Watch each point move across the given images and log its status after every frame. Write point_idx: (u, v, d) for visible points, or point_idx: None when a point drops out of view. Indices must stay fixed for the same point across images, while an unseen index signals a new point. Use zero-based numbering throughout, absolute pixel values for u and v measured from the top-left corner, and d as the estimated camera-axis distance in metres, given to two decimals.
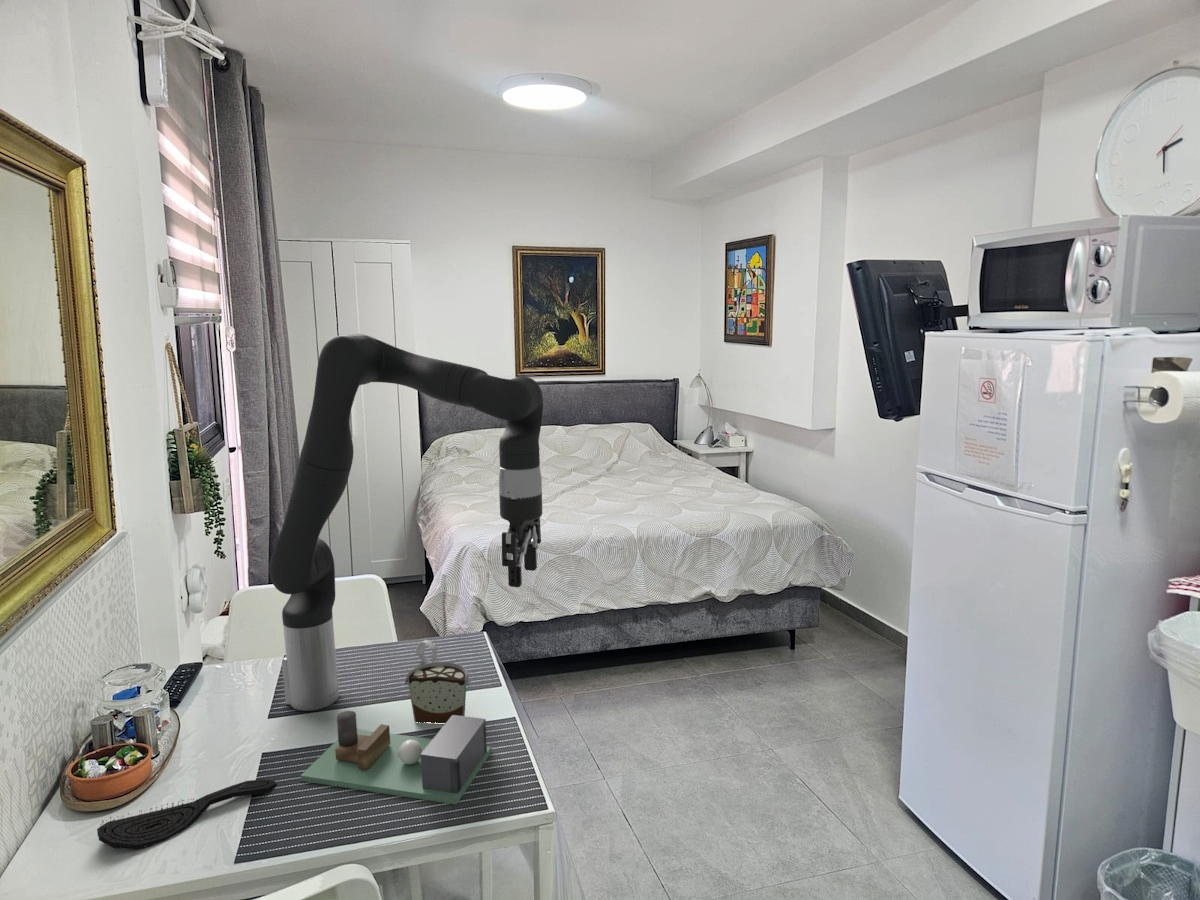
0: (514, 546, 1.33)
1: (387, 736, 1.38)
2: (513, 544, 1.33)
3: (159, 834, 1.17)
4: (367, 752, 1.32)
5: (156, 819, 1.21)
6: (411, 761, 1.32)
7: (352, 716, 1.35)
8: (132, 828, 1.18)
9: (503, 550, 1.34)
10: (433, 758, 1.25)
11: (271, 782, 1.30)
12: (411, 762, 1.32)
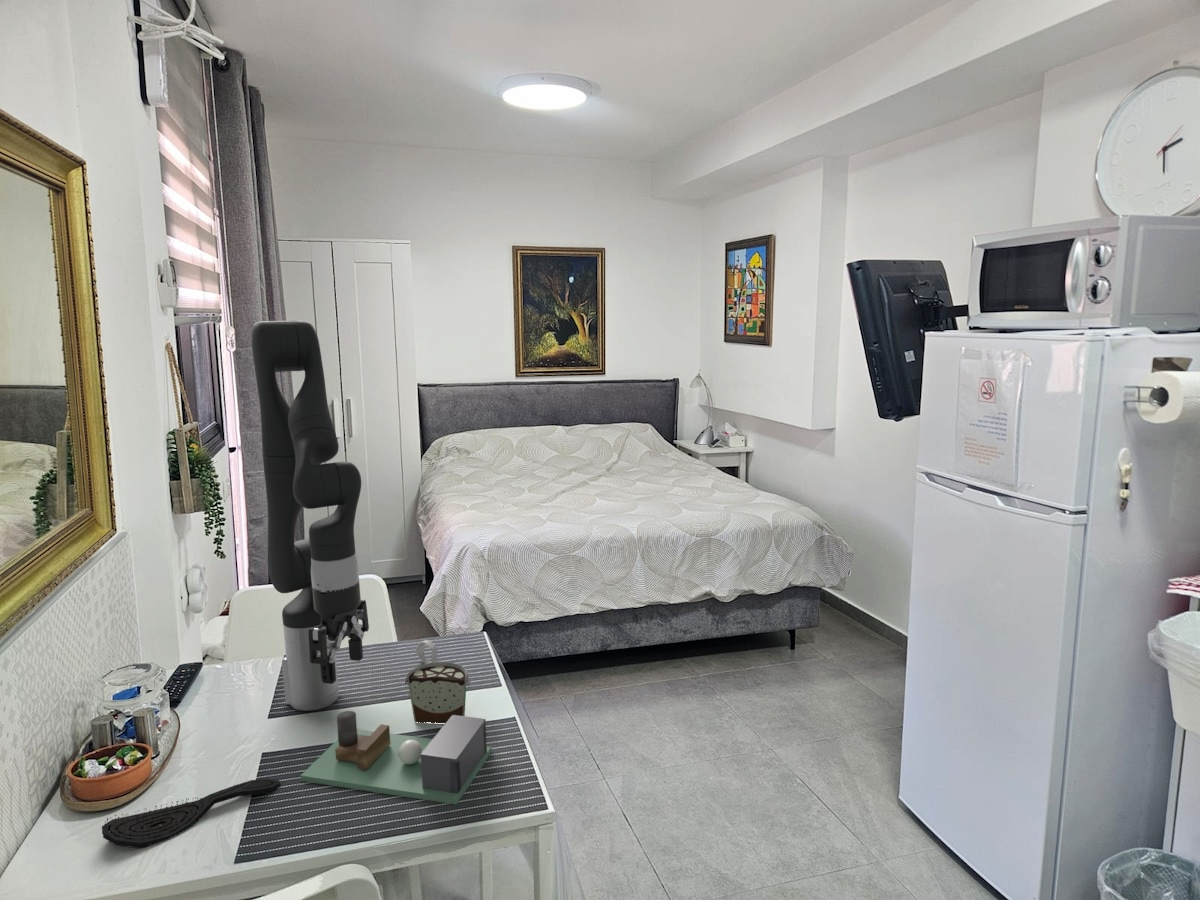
0: (321, 643, 1.25)
1: (387, 736, 1.38)
2: (320, 641, 1.25)
3: (163, 832, 1.18)
4: (367, 752, 1.32)
5: (160, 817, 1.21)
6: (411, 761, 1.32)
7: (352, 716, 1.35)
8: (136, 826, 1.18)
9: (310, 647, 1.26)
10: (433, 758, 1.25)
11: (276, 782, 1.30)
12: (411, 762, 1.32)
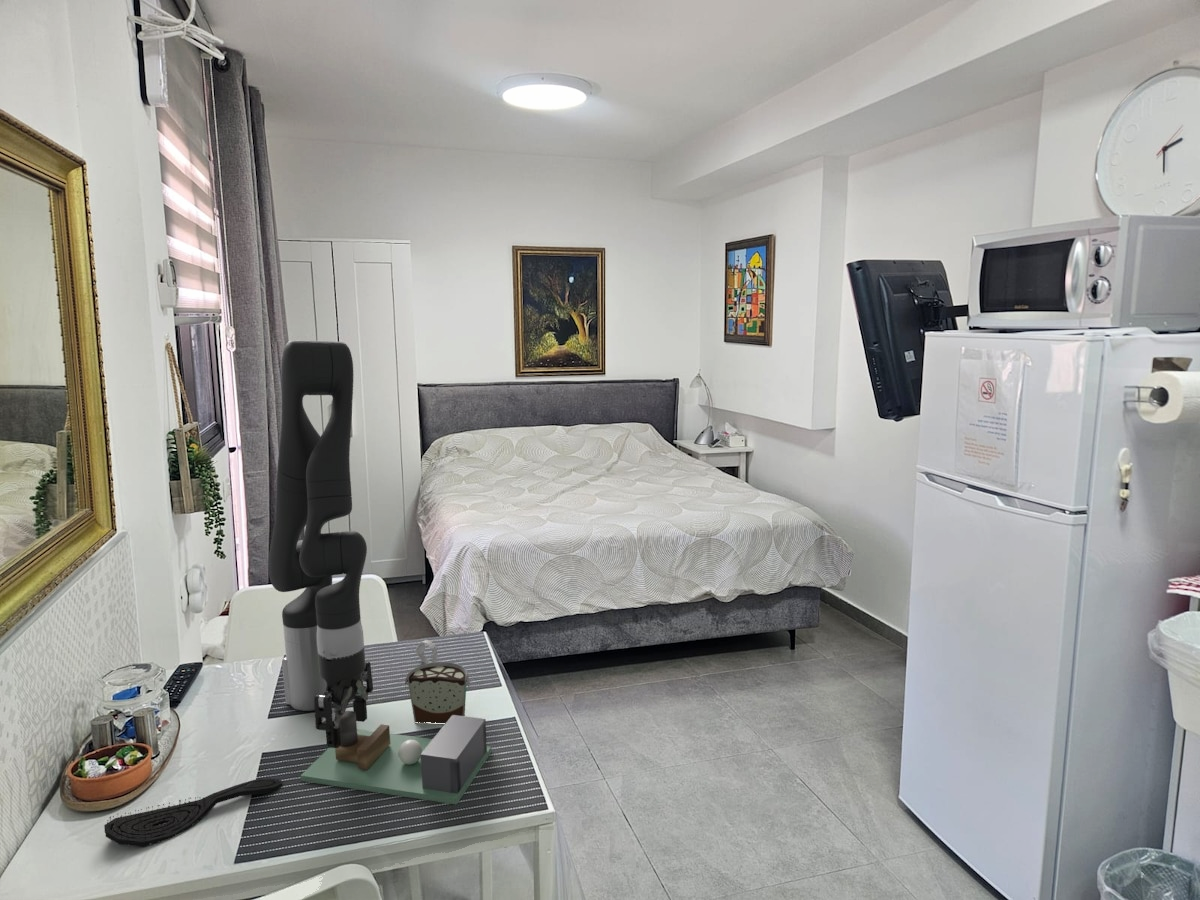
0: (327, 710, 1.28)
1: (387, 736, 1.38)
2: (326, 708, 1.28)
3: (165, 832, 1.18)
4: (367, 752, 1.32)
5: (163, 816, 1.21)
6: (411, 761, 1.32)
7: (352, 716, 1.35)
8: (139, 825, 1.19)
9: (316, 714, 1.28)
10: (433, 758, 1.25)
11: (278, 782, 1.30)
12: (411, 762, 1.32)
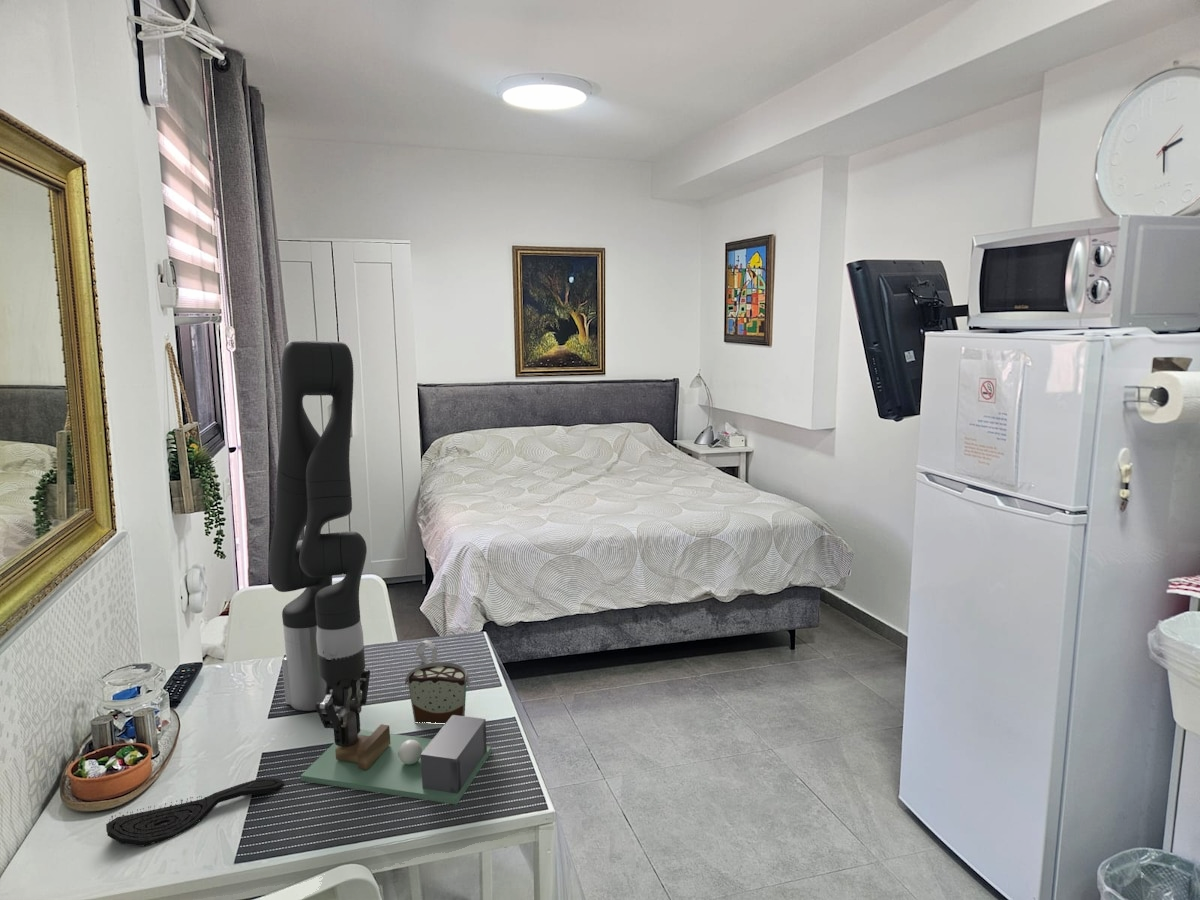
0: (331, 716, 1.29)
1: (387, 736, 1.38)
2: (329, 715, 1.29)
3: (167, 831, 1.18)
4: (368, 752, 1.32)
5: (165, 816, 1.22)
6: (411, 761, 1.32)
7: (352, 716, 1.35)
8: (141, 824, 1.19)
9: (321, 718, 1.30)
10: (433, 758, 1.25)
11: (280, 782, 1.30)
12: (411, 762, 1.32)
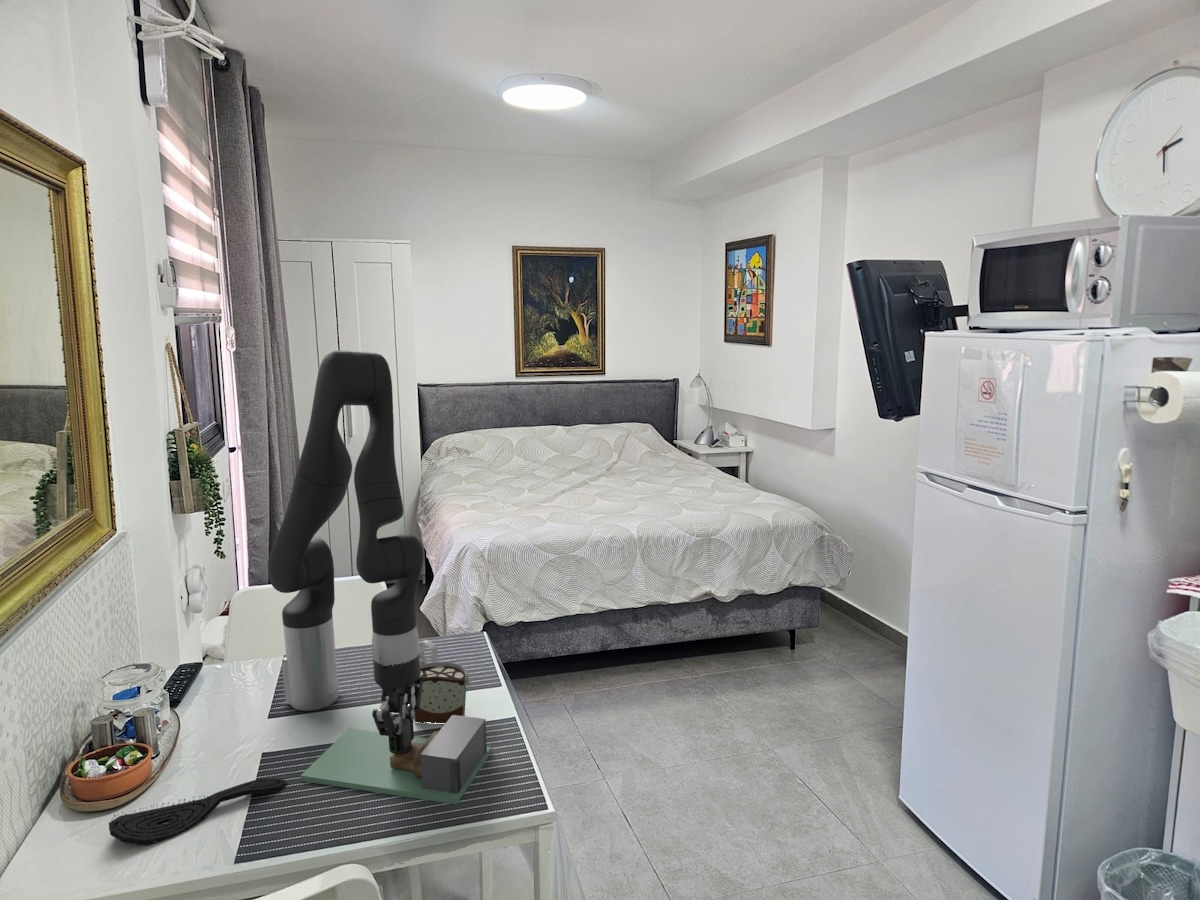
0: (387, 723, 1.26)
1: None
2: (386, 722, 1.26)
3: (169, 830, 1.18)
4: None
5: (167, 815, 1.22)
6: None
7: (407, 723, 1.33)
8: (143, 823, 1.19)
9: (377, 725, 1.27)
10: (433, 758, 1.25)
11: (282, 781, 1.30)
12: None
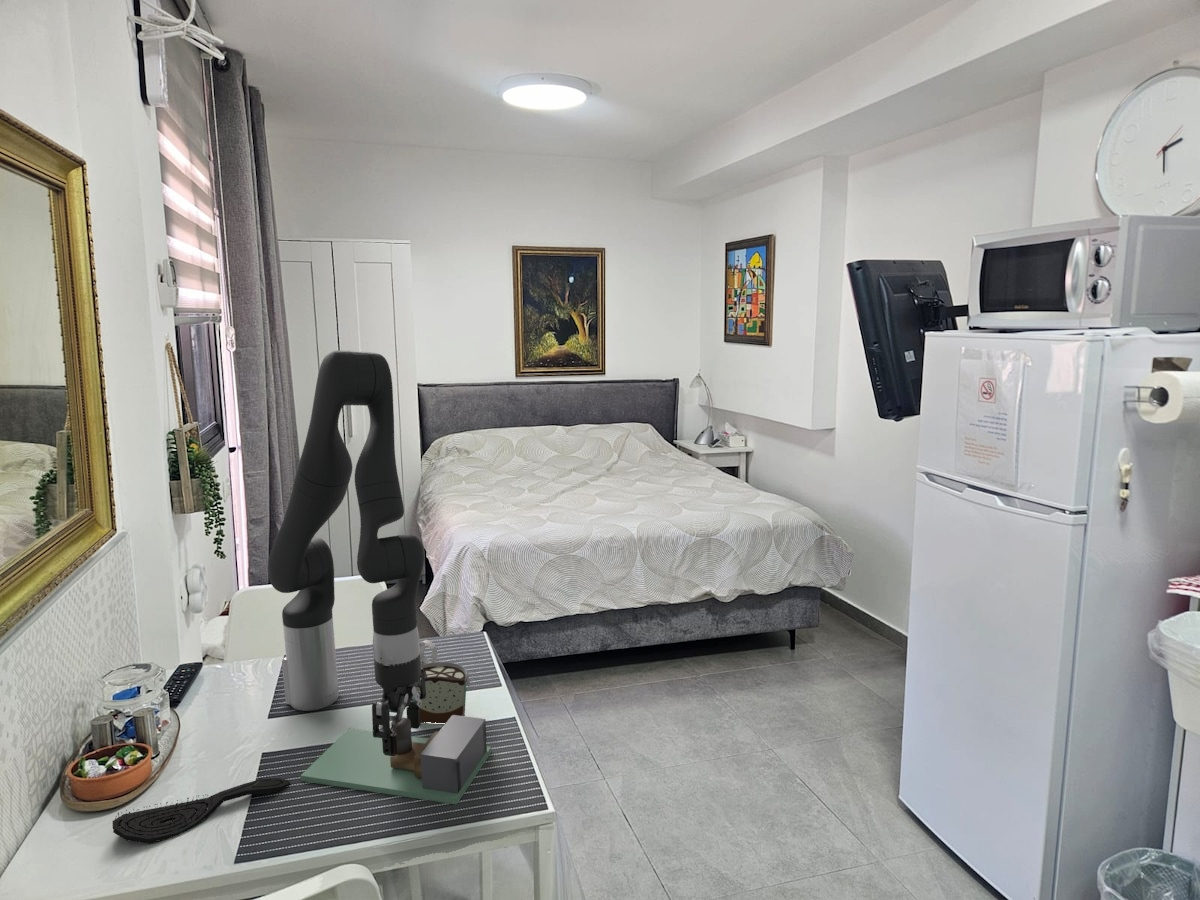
0: (385, 718, 1.25)
1: None
2: (384, 716, 1.25)
3: (172, 829, 1.19)
4: None
5: (171, 813, 1.22)
6: None
7: (407, 723, 1.33)
8: (147, 821, 1.19)
9: (374, 721, 1.26)
10: (433, 758, 1.25)
11: (285, 781, 1.30)
12: None
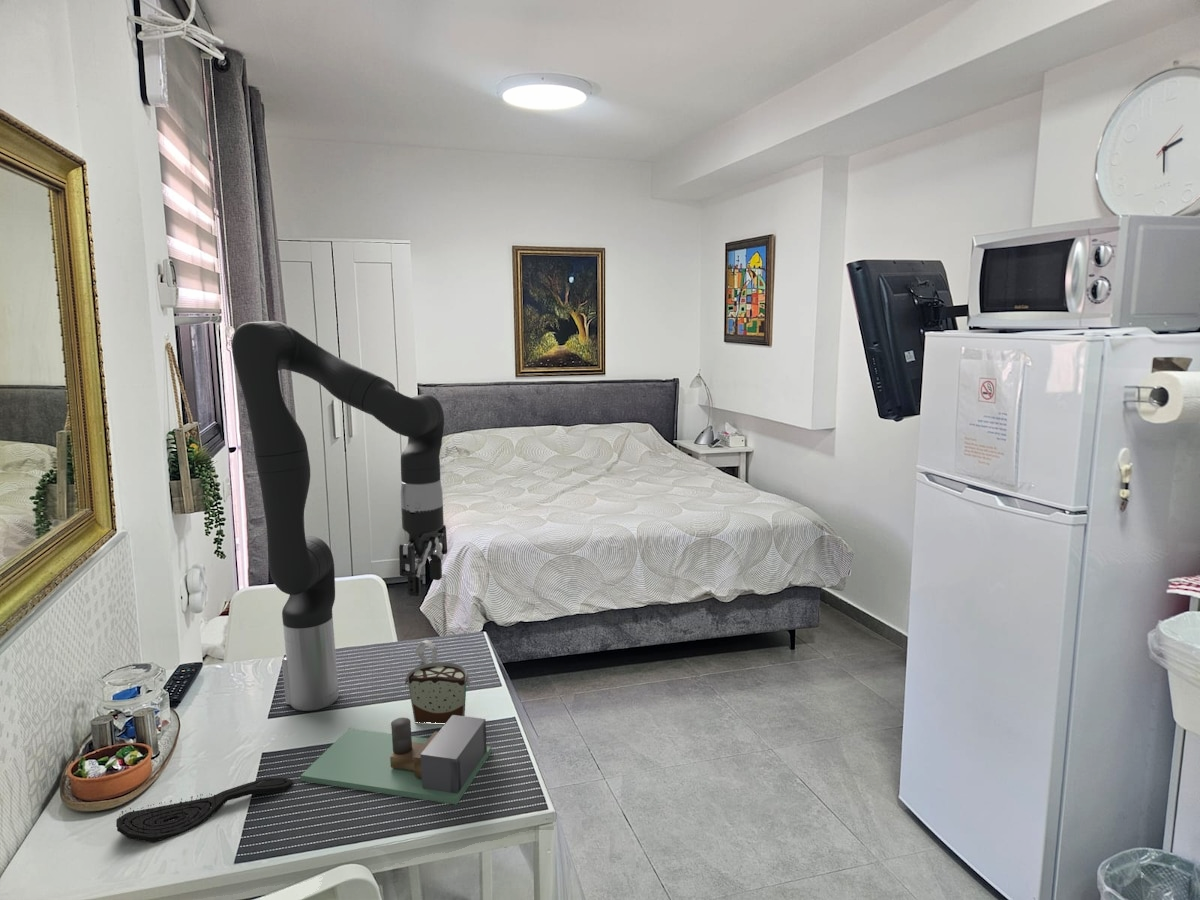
0: (411, 557, 1.39)
1: None
2: (410, 555, 1.39)
3: (175, 828, 1.19)
4: None
5: (175, 812, 1.22)
6: None
7: (407, 723, 1.33)
8: (150, 820, 1.20)
9: (400, 561, 1.40)
10: (433, 758, 1.25)
11: (289, 781, 1.30)
12: None
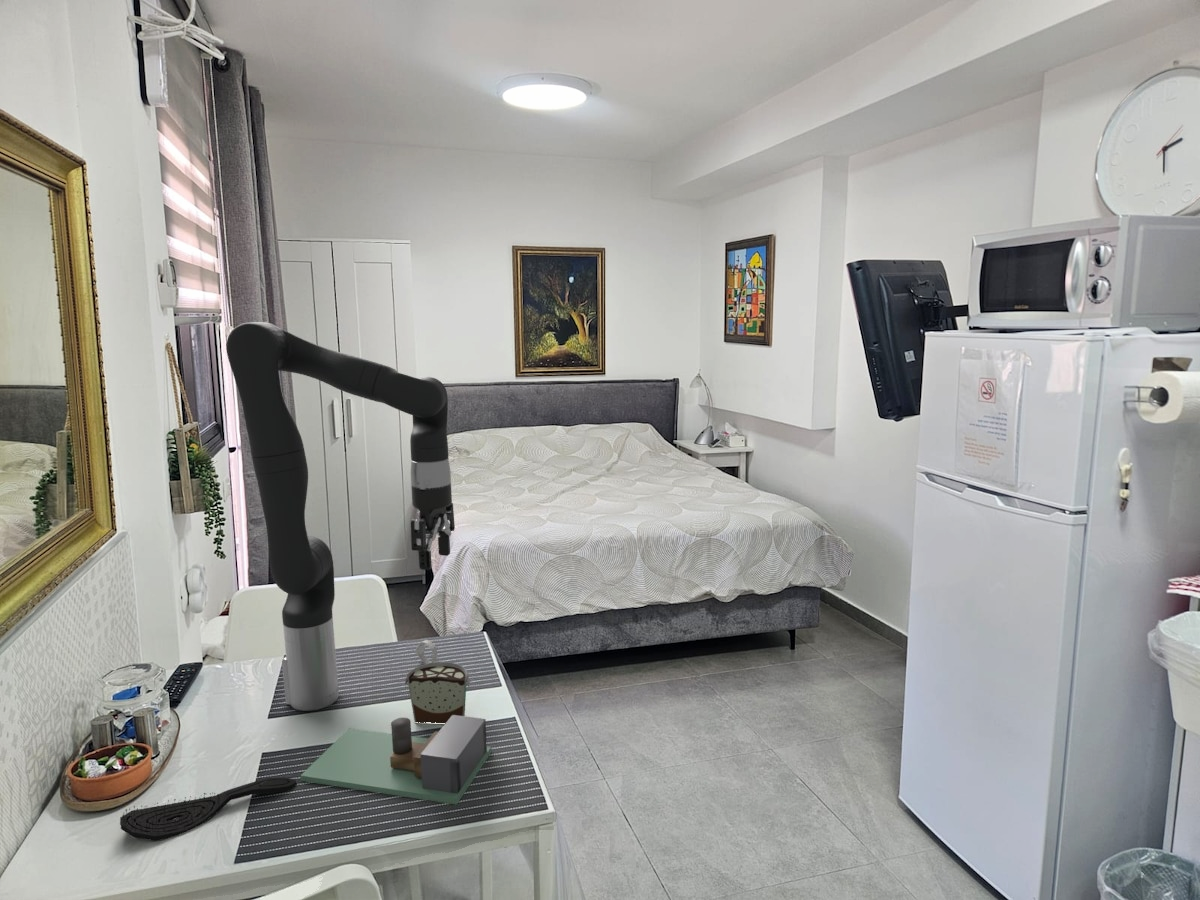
0: (422, 532, 1.46)
1: None
2: (421, 530, 1.46)
3: (178, 826, 1.19)
4: None
5: (178, 811, 1.23)
6: None
7: (407, 723, 1.33)
8: (154, 818, 1.20)
9: (412, 536, 1.46)
10: (433, 758, 1.25)
11: (292, 781, 1.30)
12: None
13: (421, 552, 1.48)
